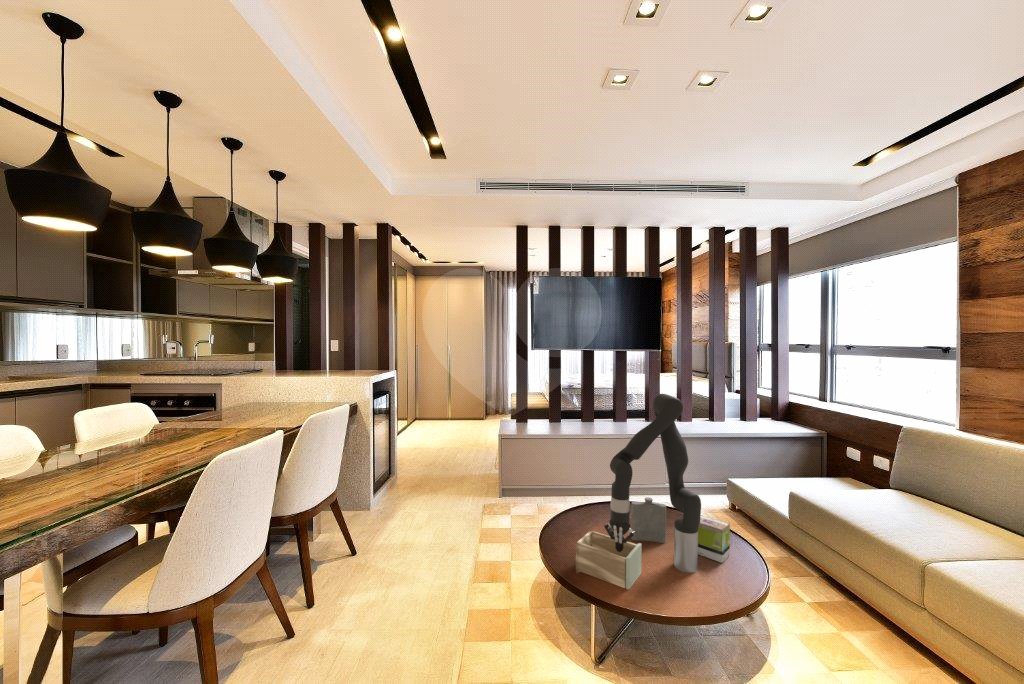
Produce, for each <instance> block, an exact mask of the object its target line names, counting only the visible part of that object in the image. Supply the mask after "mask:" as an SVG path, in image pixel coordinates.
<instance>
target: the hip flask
mask: <svg viewBox="0 0 1024 684" xmlns="http://www.w3.org/2000/svg"><path fill="white" fill-rule="evenodd" d="M630 511H631V512H630V514H631V515H630V516H631V518H630V520H631V522H630V523H631V524H630V526H631V527H630V528H631V529H632V530H633V531H635V532H636V533H635V534H634V535H633V536H632V537H631V538H630V540H632V541H644V542H653V543H654V542H655V543H660V544H665V543H667V535H666V534H667V505H666V504H665V503H659V502H654V501H653V498H652V497H648V496H647V497H644V501H631V510H630Z"/></svg>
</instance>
